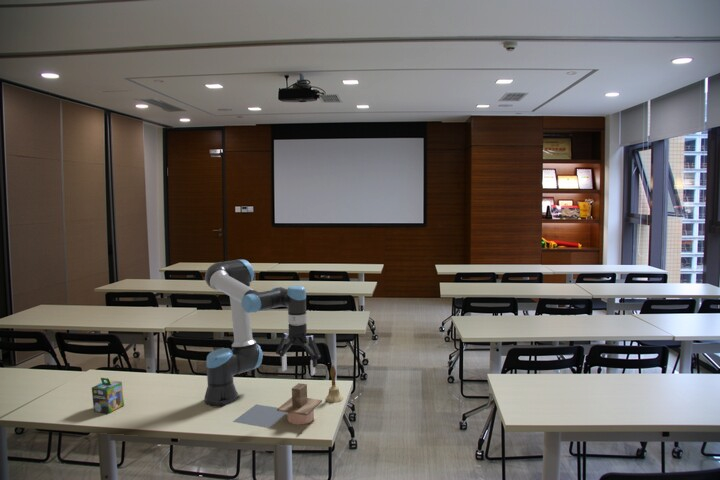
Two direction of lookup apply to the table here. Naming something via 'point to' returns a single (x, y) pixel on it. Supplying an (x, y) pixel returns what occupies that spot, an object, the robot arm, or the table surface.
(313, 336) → the robot arm
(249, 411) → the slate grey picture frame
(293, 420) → the terracotta bowl
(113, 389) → the chalk box
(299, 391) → the walnut lid
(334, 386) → the hand bell
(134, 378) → the table surface
